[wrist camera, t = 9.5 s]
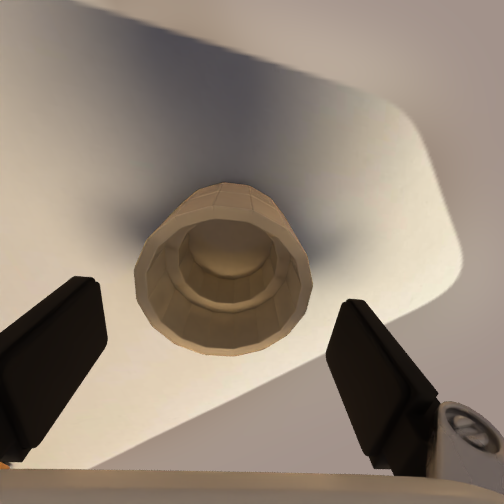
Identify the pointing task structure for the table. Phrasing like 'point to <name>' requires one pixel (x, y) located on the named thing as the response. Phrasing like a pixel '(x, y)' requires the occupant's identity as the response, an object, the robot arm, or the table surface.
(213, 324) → the little bowl
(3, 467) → the small box
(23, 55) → the table surface
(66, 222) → the table surface
